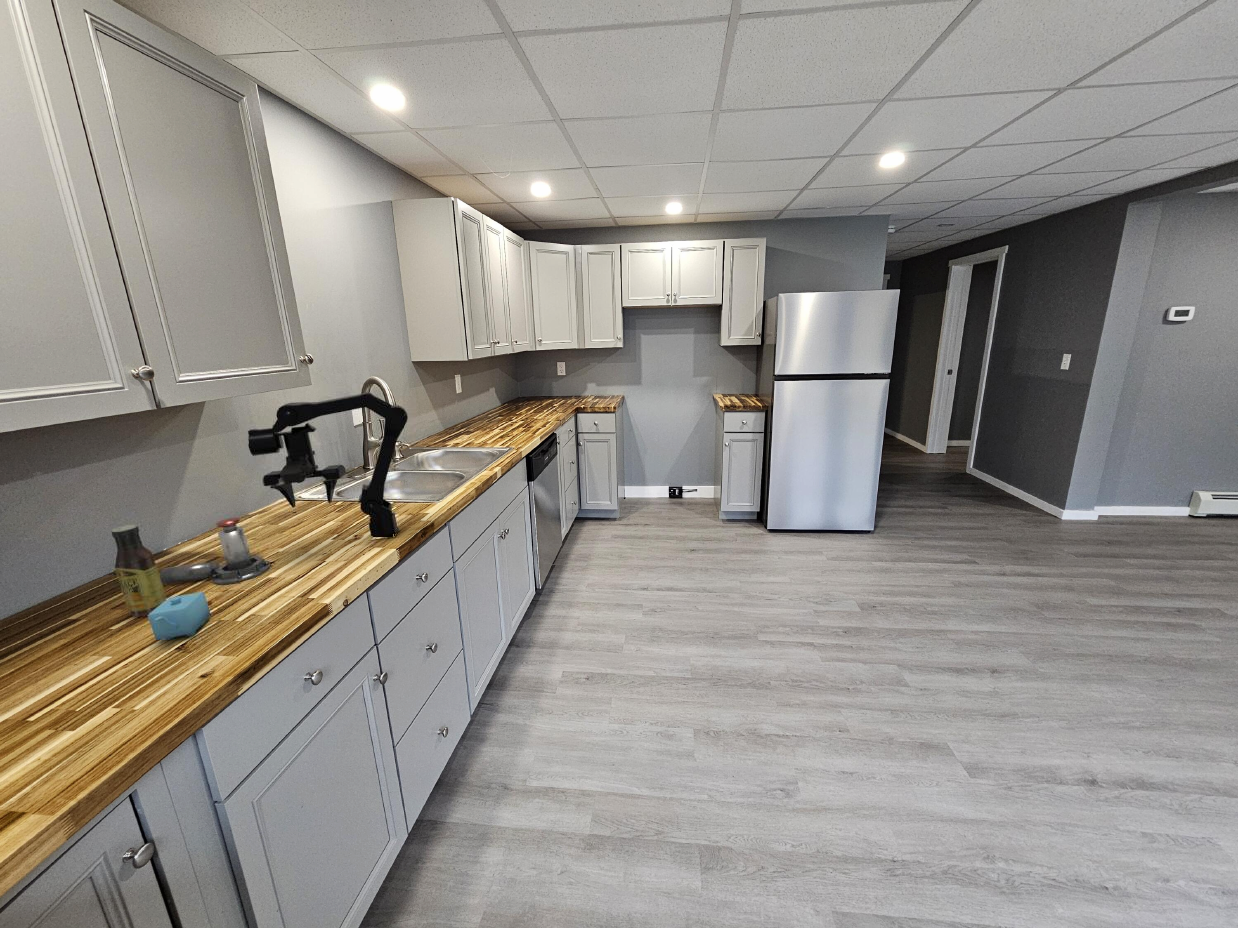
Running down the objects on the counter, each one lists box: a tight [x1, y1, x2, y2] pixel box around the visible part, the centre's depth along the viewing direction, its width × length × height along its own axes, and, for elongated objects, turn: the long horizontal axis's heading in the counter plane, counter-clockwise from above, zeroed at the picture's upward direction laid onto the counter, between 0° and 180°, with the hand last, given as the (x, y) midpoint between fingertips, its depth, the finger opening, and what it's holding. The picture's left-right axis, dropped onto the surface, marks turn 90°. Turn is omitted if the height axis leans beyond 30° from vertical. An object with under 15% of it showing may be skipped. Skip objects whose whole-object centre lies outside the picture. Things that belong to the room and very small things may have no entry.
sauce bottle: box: [111, 524, 167, 618], centre depth 105 cm, size 7×6×20 cm
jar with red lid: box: [215, 517, 253, 571], centre depth 122 cm, size 5×5×14 cm
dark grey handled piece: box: [159, 555, 272, 586], centre depth 123 cm, size 23×12×4 cm, turn 101°
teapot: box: [147, 591, 212, 641], centre depth 97 cm, size 12×6×8 cm, turn 16°
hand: (312, 504), depth 134 cm, fingers open, 9 cm apart
